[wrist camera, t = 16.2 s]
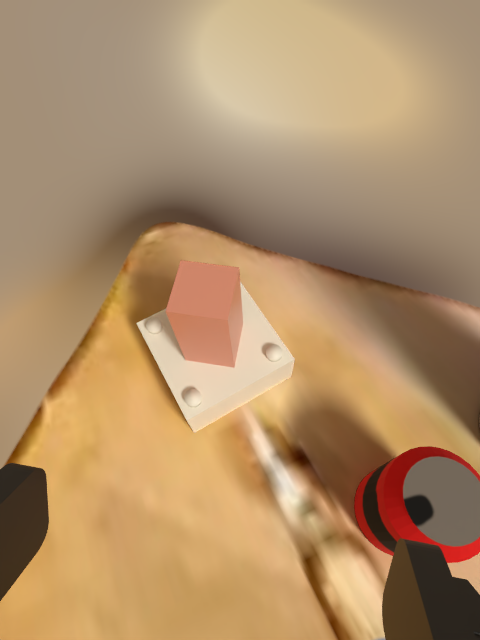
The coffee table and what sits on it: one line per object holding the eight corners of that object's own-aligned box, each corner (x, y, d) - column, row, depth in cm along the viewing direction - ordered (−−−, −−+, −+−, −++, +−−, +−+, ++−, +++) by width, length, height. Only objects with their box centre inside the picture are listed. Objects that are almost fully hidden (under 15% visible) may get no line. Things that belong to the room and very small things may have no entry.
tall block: (196, 316, 43) (180, 260, 35) (243, 323, 43) (239, 267, 34) (185, 360, 41) (165, 311, 32) (234, 367, 41) (227, 320, 32)
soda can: (339, 483, 40) (369, 463, 29) (409, 456, 41) (462, 428, 30) (377, 570, 36) (425, 582, 26) (452, 538, 37) (529, 538, 27)
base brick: (236, 297, 50) (234, 270, 45) (291, 376, 45) (295, 356, 40) (147, 343, 48) (134, 320, 43) (194, 432, 43) (185, 418, 38)
